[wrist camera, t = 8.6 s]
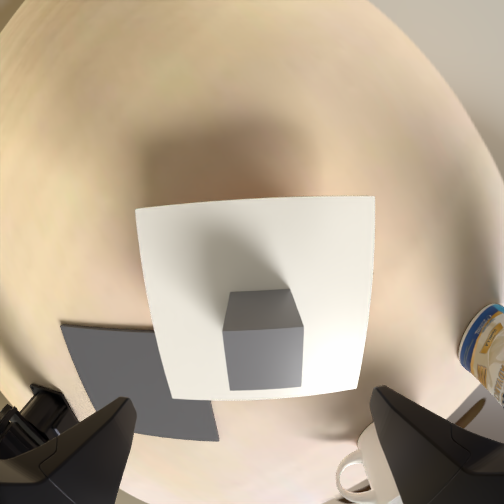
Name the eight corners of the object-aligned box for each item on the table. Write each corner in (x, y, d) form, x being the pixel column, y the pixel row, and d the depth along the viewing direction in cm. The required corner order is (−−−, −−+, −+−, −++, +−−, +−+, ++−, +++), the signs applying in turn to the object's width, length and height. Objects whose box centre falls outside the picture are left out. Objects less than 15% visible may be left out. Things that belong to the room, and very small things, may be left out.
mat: (105, 424, 24) (104, 426, 23) (62, 324, 21) (60, 325, 20) (219, 438, 24) (219, 441, 23) (197, 330, 21) (196, 333, 20)
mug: (325, 431, 24) (345, 511, 13) (423, 394, 23) (465, 457, 12) (329, 465, 25) (345, 529, 15) (414, 434, 25) (443, 489, 14)
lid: (175, 390, 16) (157, 442, 11) (140, 207, 13) (93, 218, 9) (353, 381, 16) (376, 430, 11) (368, 195, 13) (418, 201, 9)
